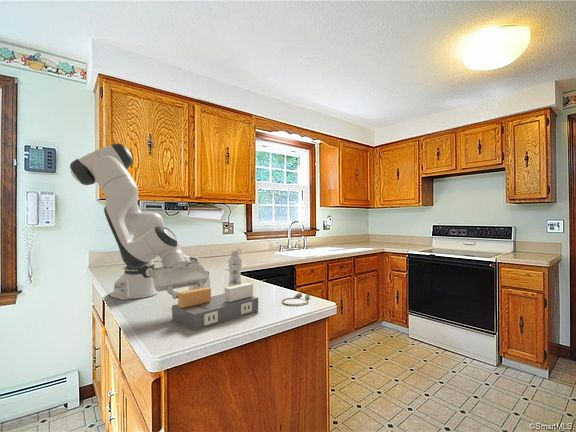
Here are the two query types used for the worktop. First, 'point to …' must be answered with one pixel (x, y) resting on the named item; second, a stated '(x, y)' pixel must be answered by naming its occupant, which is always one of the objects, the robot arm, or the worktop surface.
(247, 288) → the white switch
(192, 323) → the switch box
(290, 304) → the extension cord
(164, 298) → the worktop surface
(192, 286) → the jar
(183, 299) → the orange switch
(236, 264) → the plastic bottle
